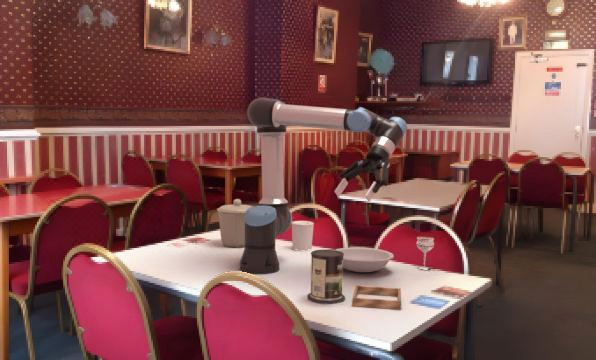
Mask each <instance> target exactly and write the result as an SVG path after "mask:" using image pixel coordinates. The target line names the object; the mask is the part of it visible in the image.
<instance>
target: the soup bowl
mask: <svg viewBox="0 0 596 360" xmlns="http://www.w3.org/2000/svg"><path fill="white" fill-rule="evenodd" d="M334 250H336V251H340V252H343V253H344V256H343V269H345V270H347V271H351V272H356V273H373V272H377V271H379V270H382V269H383V268H384V267H385V266H387V264H388V263H389V262H390V260H393V259H394V254H393V253H392V252H390V251H387V250H383V249H378V248H373V247H360V246H359V247H342V248H341V247H340V248H336V249H334Z"/></svg>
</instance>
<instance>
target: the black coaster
mask: <svg viewBox="0 0 596 360" xmlns="http://www.w3.org/2000/svg"><path fill="white" fill-rule="evenodd" d="M310 294H311V292H310V293H308V294H307V296H306V297H307V298H306V299H308V301H311V302H313V303H319V304H325V305H328V304H329V305H331V304H340V303H342V302H344V301H345V300H346V296H345V295H344V294H343V293H342V298H341V299H339V300H334V301H322V300H316V299H313V298H312V297H311V296H310Z"/></svg>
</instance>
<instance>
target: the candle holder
mask: <svg viewBox="0 0 596 360" xmlns="http://www.w3.org/2000/svg"><path fill="white" fill-rule="evenodd" d="M314 226H315V223H314V222H313V221H310V220H295V221H293V220H292V223H291V238H292V239H291V240H292V241H291V242H292V244H291V245H292V249H293V248H294V249H297V250H308V249H311V250H312V245H313V236H314Z"/></svg>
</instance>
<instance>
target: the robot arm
mask: <svg viewBox="0 0 596 360" xmlns="http://www.w3.org/2000/svg"><path fill="white" fill-rule="evenodd" d="M246 116H247V118H248V120H249V122H250V124H251V125H253V127H256V133H257V135H258V136H259V138H260V147H261V148H260V149H261V150H260V152H261V154H260V155H261V184H262V186H261V187H262V189H261V190H262V191H261V192H262V197H261V199H260V200H259V202H258V205H256V206H255V205H253V207H250V208H248V209H247V210H246V213H245V247H243V253H242V255H241V258H240V261H239V270H240V271H242V272H244V271H245V272H244V273H249V274H261V275H262V274H272V273H275V272H276V273H277V272H278V271H279V270H280V261H279V257H278V253H277V251H276V239H277V238H276V237H277V236H279V235H280V236H281V235H283V234H284V233H285V232H287V231H288V230H289V229H290V227H291V226H292V222H293V216H292V215H293V214H292V212H291V210H290V209H289V201H288V200H287V199H286V198H285V186H284V185H285V179H284V174H285V173H284V136H285V135H286V134H287V127H289V126H290V127H301V128H313V129H322V130H323V129H325V130H334V131H347V132H355V133H367V134H369V135H372V136H373V137H376V139H375V141H374V142H373V144H372V145H371V147H370V148H369V150H368V152H367V153H366V155H365V156H366V157H365V159H363V160H361V159H360V158H357V159H356V160H355V161H354V162H353V163H352V164H351V165H350V166H348V167H347V168H346V169H345V170H343V171H341V173H339V174H338V177H339V178H340V181H339V182H338V184H337V187H336V188H335V190H334V191H333V192H334V193H335V194H336V196H337V198H340V196H341V195H342V193H343V192H344V190H345V189H346V188H347V186H348V184H349V181H351V180H353V179H355V178H357V177H358V176H360V175H364V174H365V173H366V174H369V173H370V174H374V176H375V177H374V178H375V181H373V182H372V184H371V185H370V187H369V188H368V190H367V192H366V193H365V195H364V197H365V198H366V201H368V202H371V201H372V199H373V197H374V196H375V195H376V193H378V192H379V190H380V189H381V187H383V186H385V187H387V186H388V185H389V175H390V174H389V171H390V169H391V168H392V167H391V164H390V162H389V159H390V157H391V156H392V154H393V153H394V151H395V149H396V148H397V146H398V145H399V144H400V142H401V141H402V139H403V138H404V136H405V133H407V131H408V130H407V129H408V125H407V123H406V120H404V119H403V118H402V117H399V116H392V117H390V118H389V119H387V118H385V117H383V116H380V115H379V114H377V113H374V112H373V111H370V110H369V109H366V108H364V107H361V106H359V107H358V108H357V109H347V108H335V107H325V106H324V107H321V106H311V105H310V106H309V105H297V104H286V103H285V102H283V101H281V100H280V99H276V98H268V97H258V98H256V99H253V100H252V101H251V102H250V103H249V106H248V107H247V115H246ZM381 169H382V171H381V172H380V170H381Z"/></svg>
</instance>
